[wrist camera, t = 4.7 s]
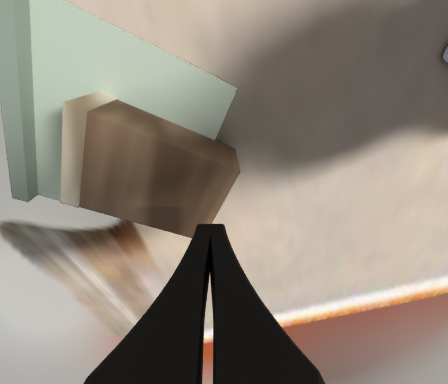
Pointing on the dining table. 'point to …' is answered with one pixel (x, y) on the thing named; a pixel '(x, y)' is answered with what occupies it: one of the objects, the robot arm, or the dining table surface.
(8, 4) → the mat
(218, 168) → the walnut block
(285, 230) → the dining table surface
